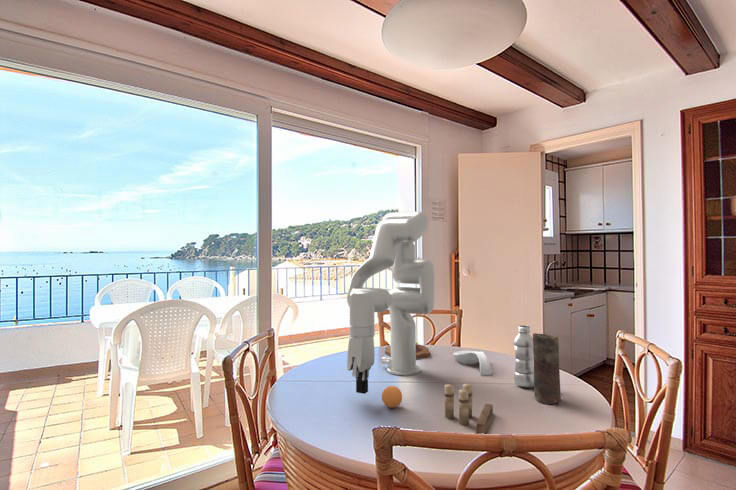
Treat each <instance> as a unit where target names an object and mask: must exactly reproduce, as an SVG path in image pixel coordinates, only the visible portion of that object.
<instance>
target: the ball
mask: <svg viewBox="0 0 736 490" xmlns="http://www.w3.org/2000/svg"><path fill="white" fill-rule="evenodd" d="M381 400H382V402H383V404H384V405H385V406H386V407H388V408H392V409H393V408H397V407H399V405H401V403H402V400H403V394H402V390H401V389H400V388H398V387H397V386H395V385H389V386H387V387H385V388H384V389H383V391H382V393H381Z"/></svg>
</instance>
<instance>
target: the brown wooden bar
mask: <svg viewBox="0 0 736 490" xmlns="http://www.w3.org/2000/svg"><path fill="white" fill-rule="evenodd" d="M493 407H494V405H493V404H491V403H485V404H484V406H483V408H482V409H481V412H480V415H479V416H478V419H477V420H476V422H475V424H476V425H475V426H476V427H475V428H476V429H475V431H476V432H475V433H476V434H477V433H484V434H486V432H487V430H488V427H489V425H490V422H491V420H492V417H493V414H494V408H493Z"/></svg>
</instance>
